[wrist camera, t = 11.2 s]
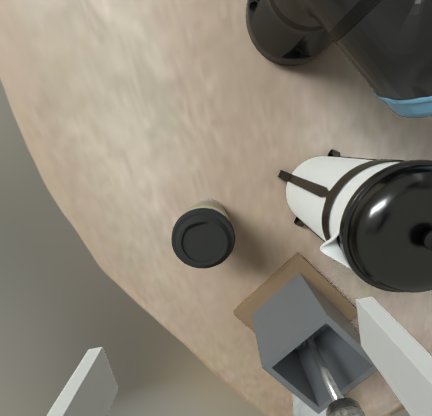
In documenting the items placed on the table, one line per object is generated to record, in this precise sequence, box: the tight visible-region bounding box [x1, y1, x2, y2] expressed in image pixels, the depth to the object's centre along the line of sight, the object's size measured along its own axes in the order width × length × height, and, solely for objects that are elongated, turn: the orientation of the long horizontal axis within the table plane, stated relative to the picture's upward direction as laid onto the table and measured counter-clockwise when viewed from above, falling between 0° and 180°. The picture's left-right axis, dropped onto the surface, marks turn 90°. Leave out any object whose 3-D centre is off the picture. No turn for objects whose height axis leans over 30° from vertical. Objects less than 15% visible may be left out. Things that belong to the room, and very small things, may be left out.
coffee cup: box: [172, 199, 235, 268], centre depth 42 cm, size 9×9×15 cm
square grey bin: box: [234, 253, 378, 414], centre depth 47 cm, size 18×18×14 cm
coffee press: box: [278, 149, 432, 293], centre depth 33 cm, size 17×16×30 cm
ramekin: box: [292, 393, 345, 416], centre depth 56 cm, size 11×11×5 cm
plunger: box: [296, 323, 365, 416], centre depth 40 cm, size 10×10×22 cm
